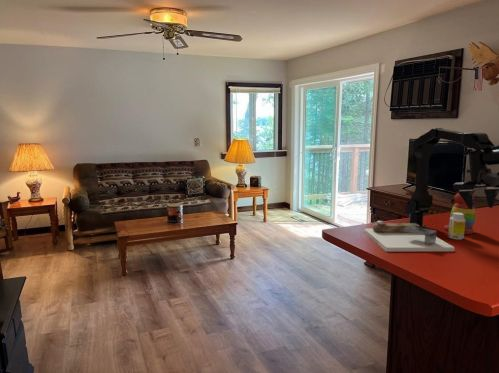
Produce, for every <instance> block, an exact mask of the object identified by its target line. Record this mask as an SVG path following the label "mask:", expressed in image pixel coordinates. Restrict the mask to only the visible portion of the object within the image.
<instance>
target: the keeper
mask: <svg viewBox="0 0 499 373" xmlns="http://www.w3.org/2000/svg"><path fill="white" fill-rule="evenodd" d="M404 231H408V232H413V233H417V234H421V235H425V242H424V244H425V245H429V246H430V245H432V244H434V243H436V237H437V232H438V231H437V230H434V229H429V228H426V227H416V226H411V225H410V226H407V227H405V228H404Z"/></svg>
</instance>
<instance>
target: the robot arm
mask: <svg viewBox="0 0 499 373" xmlns="http://www.w3.org/2000/svg"><path fill="white" fill-rule="evenodd" d="M441 140H446V141H450V142H456V143H458V144H460V145H461V146H463V147H465V148H467V149H466V151H464V153H463V154H462V155H463V156H465V157H466V156H468V166H469V169H466V173H467V174H468V173H469V180H467V181H461V182H454V183H453V186H452V188H453V189H452V190H453V191H455V192H456V193H459V194H460V196H461V197H462V198H463V200H464V201H465V203H466V205H467V206H468V208H469V209H472V208H473V207H474V205H473V203H474V199H473V196H474V193H475V192H476V190H474V189H477V188H480V189H481V188H484V189H483V191H484V195H485V199H486V202H487V205H488V208H489V209H490V208H492V209H493V207H494V203H495V200H496V199H497V195H498V194H499V172H497V173H496V172H495V173H494V172H492V169H491V168H488V166H498V165H499V145H495V144H494V143H493V142H492V141H491V139H490V137H489V136H488V134H487V133H485V132H462V131H456V130H450V129H445V128H443V127H433V128H431V129H430V130H428V132H426V133H423V134H422V135H420V136H419V137H416V138H415V139H414V140H413V142H412V150H413V154H414V156H415V158H416V165H415V166H416V169H415V170H416V171H415V186H414V187H415V189H414V191H413V193H412V195H411V197H410V202H409V203H408V204H407V205H406V206H405V207H404V211H405V213H408V216H409V217H408V223H416V224H418V225H420V227H421V228H426V227H427V226H426V225H424V222H423V221H424V214H427V213H429V211H430V209H431V207H432V205H433V204H434V203H433V198H434V196H433V194H430V193H429V190H428V189H429V172H430V169H429V168H430V159H431V156H432V155H433V153H434V150H435V147H436V146H437V144H439V143H440V141H441Z"/></svg>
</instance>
